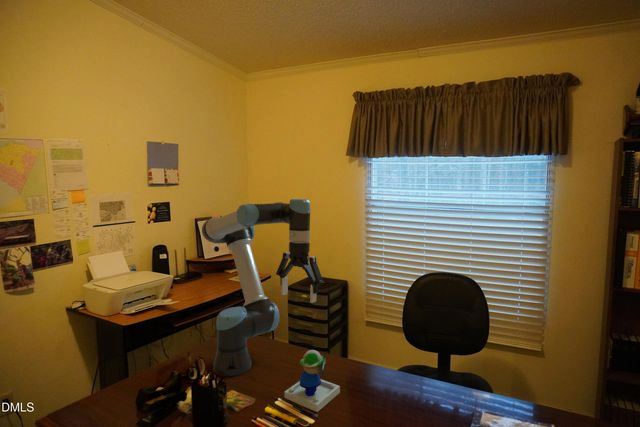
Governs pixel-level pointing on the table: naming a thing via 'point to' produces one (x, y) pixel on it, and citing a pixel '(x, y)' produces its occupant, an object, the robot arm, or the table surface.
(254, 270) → the robot arm
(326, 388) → the base plate
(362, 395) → the table surface
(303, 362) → the toy
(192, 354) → the table surface
